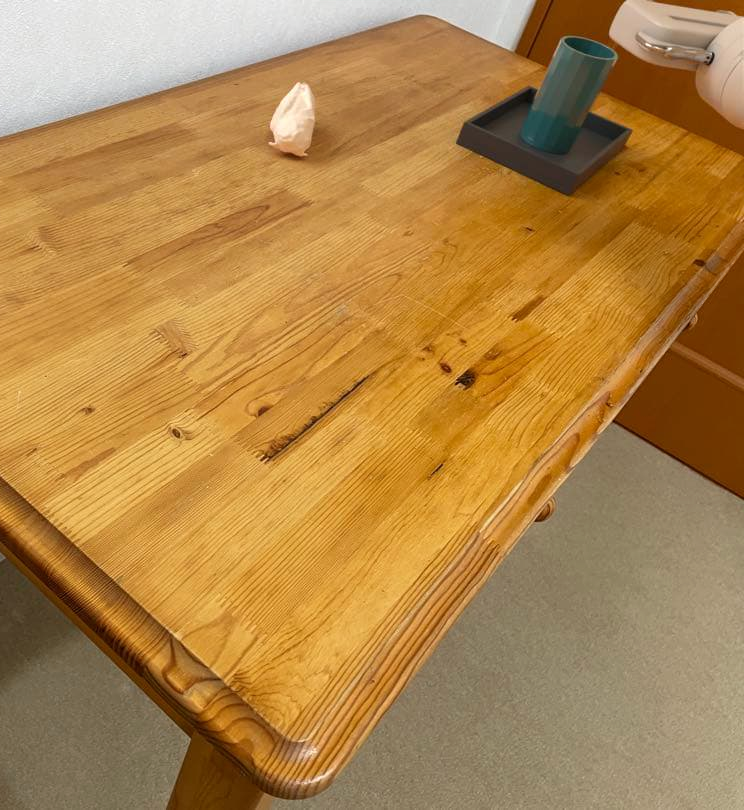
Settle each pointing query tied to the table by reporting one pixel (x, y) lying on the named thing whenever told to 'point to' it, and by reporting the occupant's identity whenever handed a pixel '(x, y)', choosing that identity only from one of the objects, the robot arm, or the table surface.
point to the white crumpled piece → (294, 121)
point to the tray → (562, 172)
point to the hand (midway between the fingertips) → (678, 11)
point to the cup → (567, 94)
